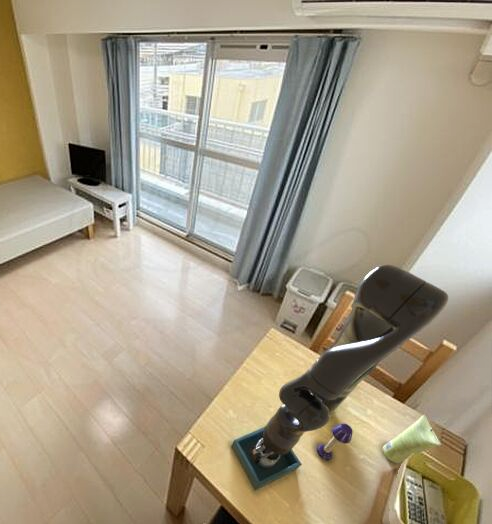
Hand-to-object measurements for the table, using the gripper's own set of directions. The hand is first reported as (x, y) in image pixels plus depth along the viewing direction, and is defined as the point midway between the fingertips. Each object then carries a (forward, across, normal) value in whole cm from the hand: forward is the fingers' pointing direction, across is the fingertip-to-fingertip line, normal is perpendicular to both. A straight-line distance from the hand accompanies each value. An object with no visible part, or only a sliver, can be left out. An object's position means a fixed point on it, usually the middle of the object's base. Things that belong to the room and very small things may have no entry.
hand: (264, 455), depth 88 cm
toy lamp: (+3, +19, -5) cm, 20 cm away
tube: (+3, +38, -13) cm, 40 cm away
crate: (+3, 0, 0) cm, 3 cm away
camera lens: (+3, 0, 0) cm, 3 cm away
